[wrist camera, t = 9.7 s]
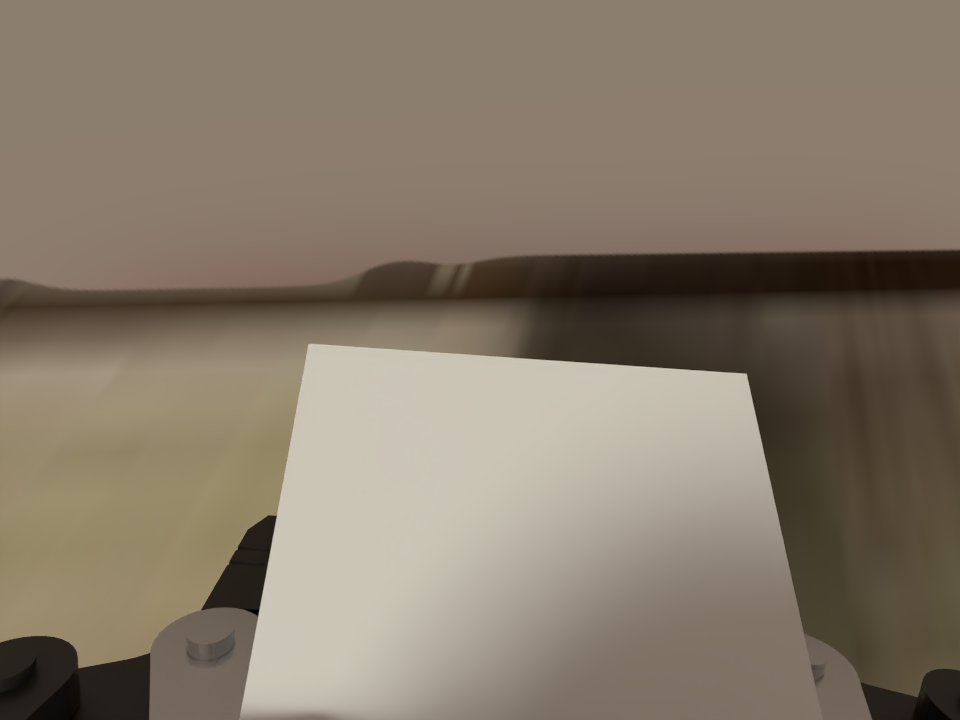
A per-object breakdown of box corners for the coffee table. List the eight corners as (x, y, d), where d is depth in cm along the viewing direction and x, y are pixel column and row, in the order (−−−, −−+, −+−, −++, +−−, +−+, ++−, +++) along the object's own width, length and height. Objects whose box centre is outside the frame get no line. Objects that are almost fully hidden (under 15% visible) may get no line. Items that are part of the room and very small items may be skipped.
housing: (571, 564, 17) (746, 373, 8) (584, 820, 14) (871, 944, 5) (360, 554, 16) (308, 344, 8) (329, 816, 13) (197, 943, 5)
